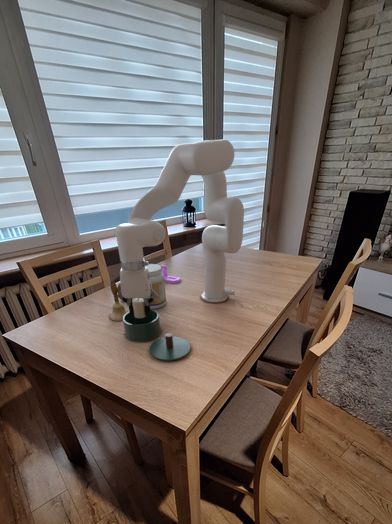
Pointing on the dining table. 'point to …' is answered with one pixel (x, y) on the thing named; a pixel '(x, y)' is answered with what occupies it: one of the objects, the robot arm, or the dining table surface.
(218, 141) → the robot arm
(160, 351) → the tin lid
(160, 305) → the supplement tub
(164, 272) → the bracket
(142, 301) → the candle
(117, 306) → the hand bell
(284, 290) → the dining table surface
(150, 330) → the candle tin
